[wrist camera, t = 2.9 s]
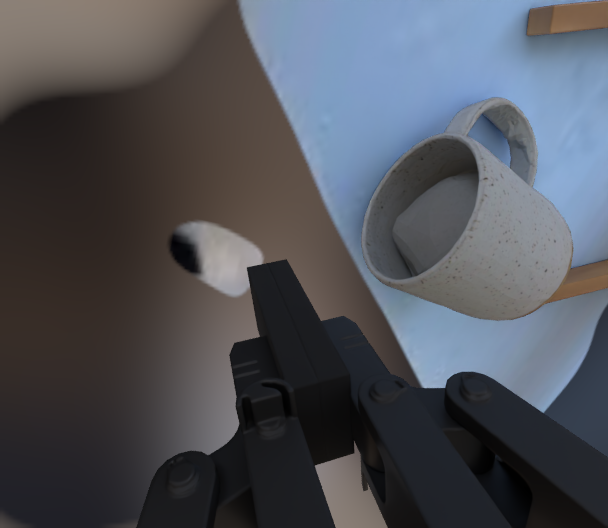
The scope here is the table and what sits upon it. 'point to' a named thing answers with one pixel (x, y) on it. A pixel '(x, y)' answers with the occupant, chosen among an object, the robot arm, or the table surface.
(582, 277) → the oak frame
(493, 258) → the ceramic mug
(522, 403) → the robot arm
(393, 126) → the table surface
